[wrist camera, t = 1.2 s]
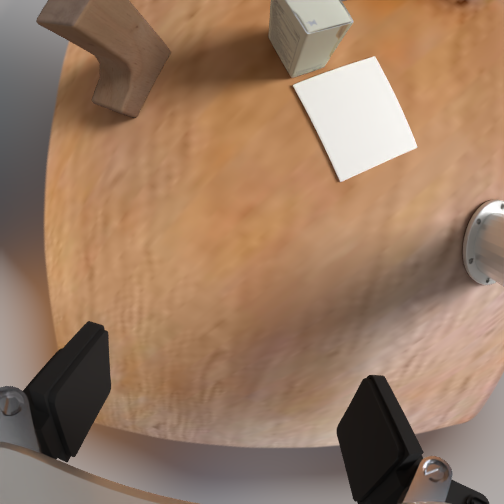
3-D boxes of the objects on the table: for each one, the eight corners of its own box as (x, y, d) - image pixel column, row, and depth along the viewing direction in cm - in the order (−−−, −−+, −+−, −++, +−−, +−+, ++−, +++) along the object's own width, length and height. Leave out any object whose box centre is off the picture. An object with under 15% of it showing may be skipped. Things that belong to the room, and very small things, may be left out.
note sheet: (373, 57, 28) (374, 56, 28) (416, 147, 31) (417, 147, 31) (292, 85, 30) (292, 84, 30) (340, 181, 33) (340, 182, 32)
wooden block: (137, 119, 31) (41, 90, 14) (107, 107, 30) (4, 79, 13) (172, 51, 29) (108, -27, 11) (141, 42, 28) (65, -28, 11)
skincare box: (325, 67, 29) (358, 25, 17) (290, 79, 30) (308, 38, 18) (300, 23, 27) (319, -32, 16) (265, 34, 28) (270, -22, 16)
